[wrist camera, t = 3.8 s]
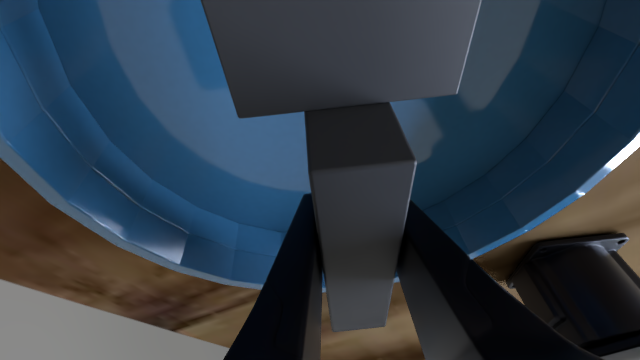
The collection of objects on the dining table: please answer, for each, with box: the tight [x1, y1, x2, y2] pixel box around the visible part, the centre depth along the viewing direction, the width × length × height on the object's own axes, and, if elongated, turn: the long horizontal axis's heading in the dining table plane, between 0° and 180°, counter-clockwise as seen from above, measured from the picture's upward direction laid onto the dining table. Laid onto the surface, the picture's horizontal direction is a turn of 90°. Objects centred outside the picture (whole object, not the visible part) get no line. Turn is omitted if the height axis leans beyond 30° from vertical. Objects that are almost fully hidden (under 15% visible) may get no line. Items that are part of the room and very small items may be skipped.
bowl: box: [0, 0, 640, 292], centre depth 10 cm, size 20×20×4 cm
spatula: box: [201, 0, 482, 332], centre depth 8 cm, size 15×6×3 cm, turn 5°
